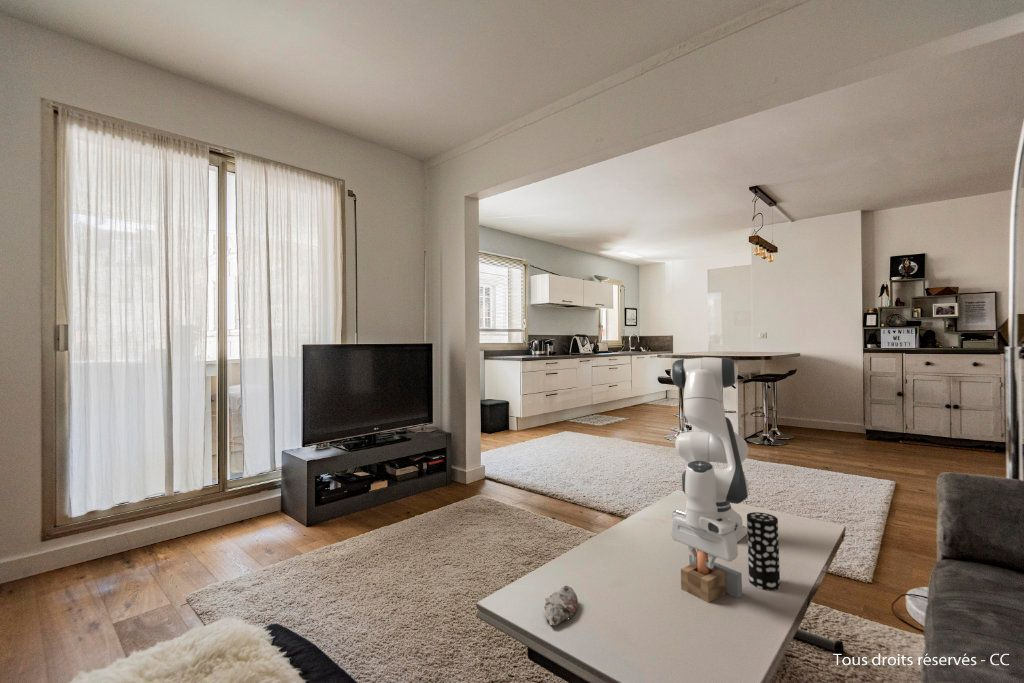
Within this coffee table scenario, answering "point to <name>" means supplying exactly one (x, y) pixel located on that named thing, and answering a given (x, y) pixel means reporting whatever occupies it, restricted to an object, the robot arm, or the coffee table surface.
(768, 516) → the white-spotted black cylinder
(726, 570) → the slab
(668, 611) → the coffee table surface
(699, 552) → the orange rounded capsule
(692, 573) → the block
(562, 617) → the mineral rock
